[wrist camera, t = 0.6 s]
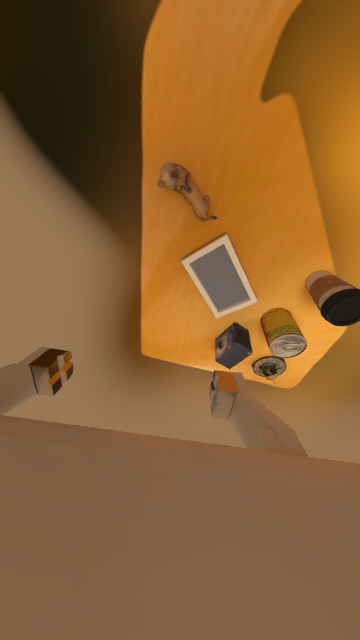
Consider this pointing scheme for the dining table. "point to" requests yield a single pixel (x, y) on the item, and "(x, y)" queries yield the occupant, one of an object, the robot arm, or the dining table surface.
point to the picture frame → (220, 276)
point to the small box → (233, 346)
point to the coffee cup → (334, 298)
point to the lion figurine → (184, 188)
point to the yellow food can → (282, 333)
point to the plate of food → (269, 367)
